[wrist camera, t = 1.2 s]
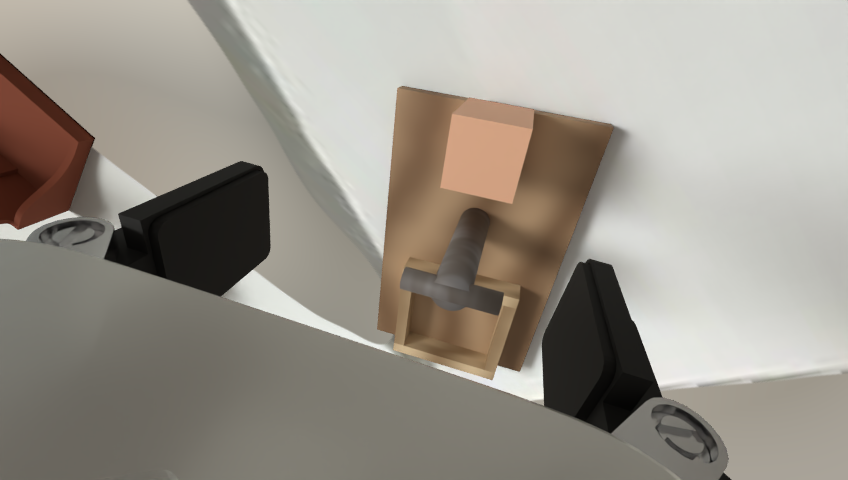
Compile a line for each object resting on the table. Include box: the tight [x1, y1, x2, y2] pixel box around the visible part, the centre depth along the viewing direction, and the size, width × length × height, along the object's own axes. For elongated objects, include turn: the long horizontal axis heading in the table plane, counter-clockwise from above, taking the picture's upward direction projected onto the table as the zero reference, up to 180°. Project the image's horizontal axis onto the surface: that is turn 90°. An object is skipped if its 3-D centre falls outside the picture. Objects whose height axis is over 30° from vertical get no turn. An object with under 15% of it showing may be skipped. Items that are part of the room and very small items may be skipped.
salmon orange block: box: [440, 98, 534, 204], centre depth 24 cm, size 4×4×6 cm
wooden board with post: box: [377, 86, 613, 380], centre depth 28 cm, size 15×24×12 cm, turn 173°
